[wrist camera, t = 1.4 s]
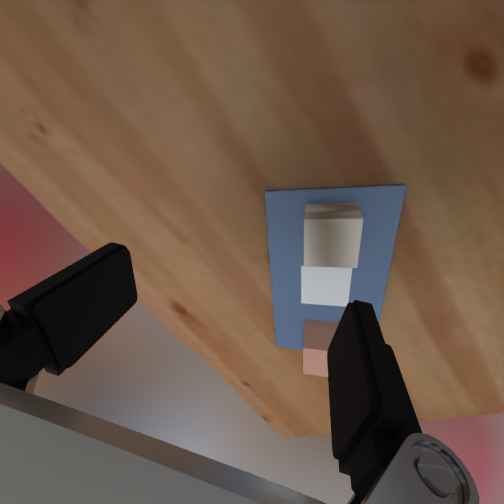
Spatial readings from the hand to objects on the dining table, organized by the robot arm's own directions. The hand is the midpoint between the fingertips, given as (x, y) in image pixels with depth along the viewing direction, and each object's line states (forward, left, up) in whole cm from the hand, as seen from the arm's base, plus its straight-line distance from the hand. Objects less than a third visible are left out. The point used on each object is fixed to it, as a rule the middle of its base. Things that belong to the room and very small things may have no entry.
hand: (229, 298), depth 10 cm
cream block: (-5, +4, -18) cm, 19 cm away
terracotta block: (-5, +21, -18) cm, 28 cm away
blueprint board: (-5, +12, -19) cm, 23 cm away
